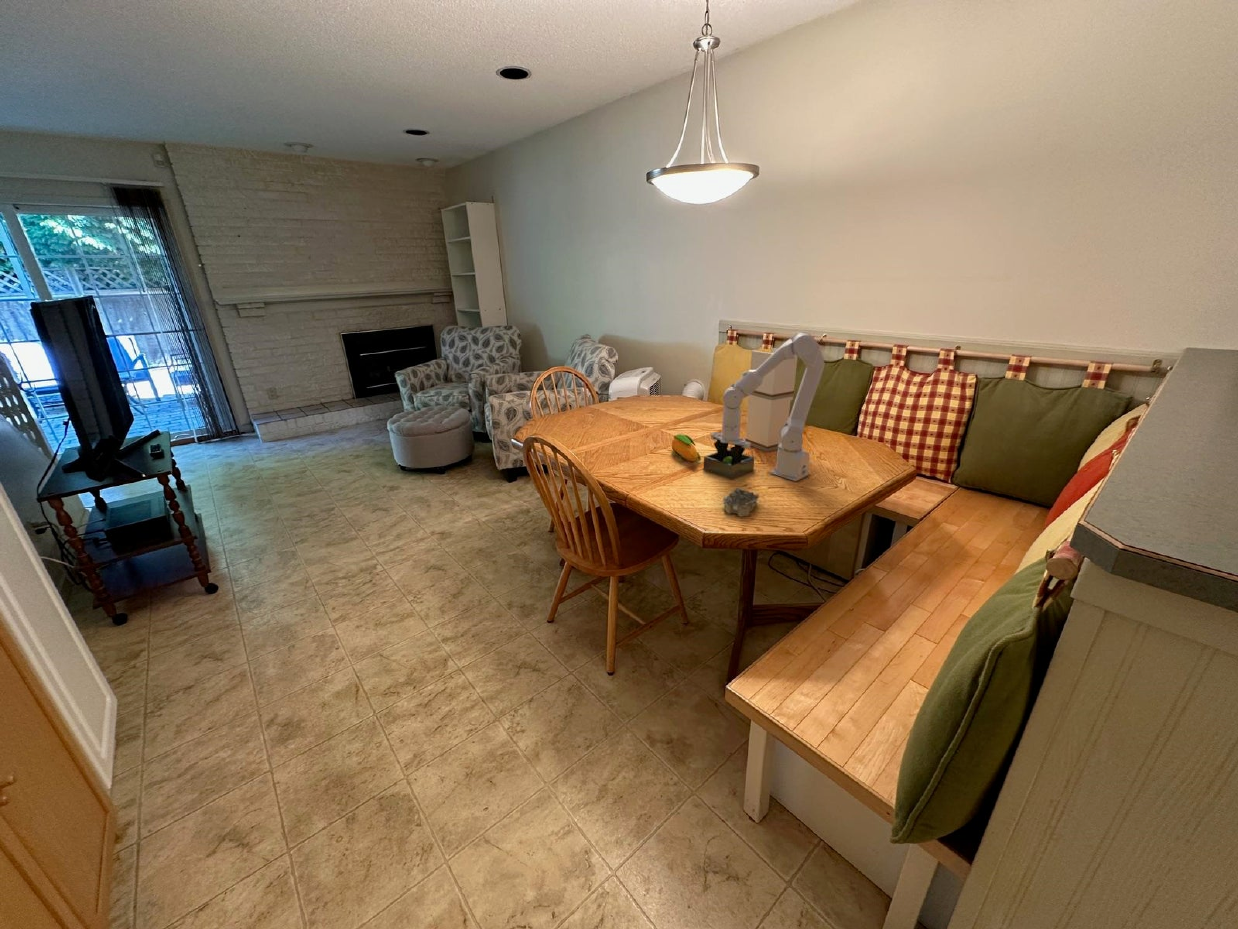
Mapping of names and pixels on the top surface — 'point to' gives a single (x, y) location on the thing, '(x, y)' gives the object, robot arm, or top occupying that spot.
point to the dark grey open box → (728, 465)
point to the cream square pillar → (770, 402)
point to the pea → (728, 460)
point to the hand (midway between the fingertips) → (728, 464)
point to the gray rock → (740, 502)
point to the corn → (685, 448)
